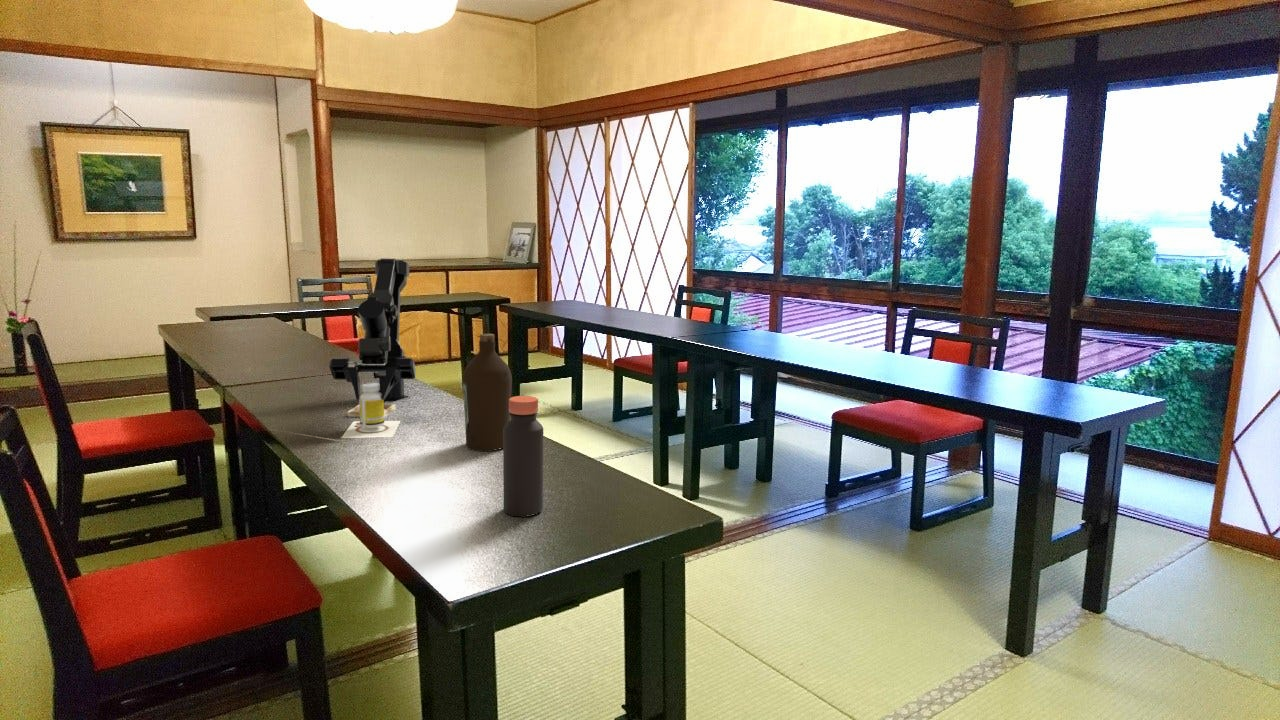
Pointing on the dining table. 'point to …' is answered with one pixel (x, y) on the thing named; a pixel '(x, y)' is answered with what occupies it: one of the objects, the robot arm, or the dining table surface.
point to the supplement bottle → (371, 406)
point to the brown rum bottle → (486, 397)
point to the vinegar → (523, 458)
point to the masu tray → (387, 410)
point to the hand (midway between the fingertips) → (370, 399)
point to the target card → (371, 430)
